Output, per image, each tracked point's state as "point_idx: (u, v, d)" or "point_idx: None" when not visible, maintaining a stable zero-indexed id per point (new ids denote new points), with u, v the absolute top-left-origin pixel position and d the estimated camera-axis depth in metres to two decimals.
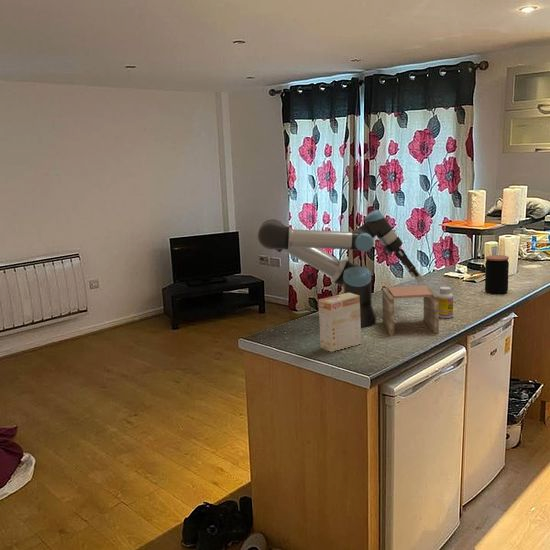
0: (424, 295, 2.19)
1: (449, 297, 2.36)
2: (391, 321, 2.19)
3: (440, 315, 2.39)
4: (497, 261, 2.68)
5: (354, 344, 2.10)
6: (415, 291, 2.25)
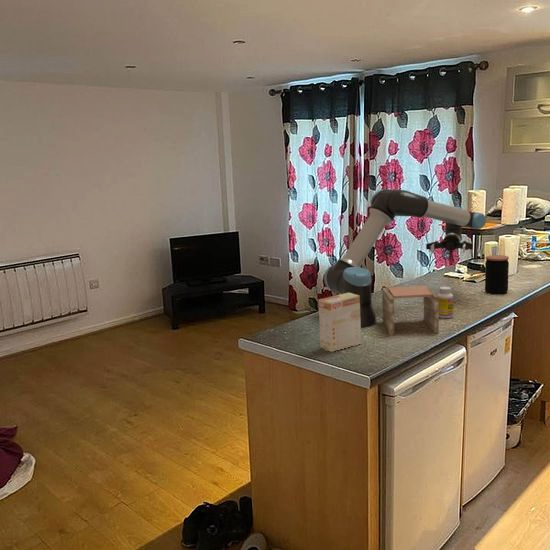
0: (424, 295, 2.19)
1: (449, 297, 2.36)
2: (391, 321, 2.19)
3: (440, 315, 2.39)
4: (497, 261, 2.68)
5: (354, 344, 2.10)
6: (415, 291, 2.25)
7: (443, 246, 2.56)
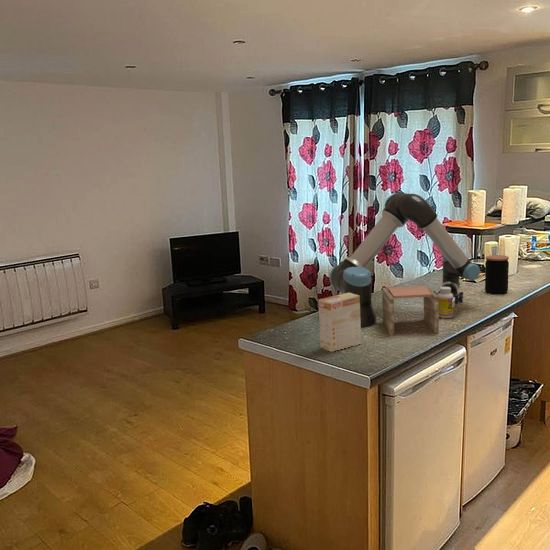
0: (424, 295, 2.19)
1: (449, 297, 2.36)
2: (391, 321, 2.19)
3: (440, 315, 2.39)
4: (497, 261, 2.68)
5: (354, 344, 2.10)
6: (415, 291, 2.25)
7: None
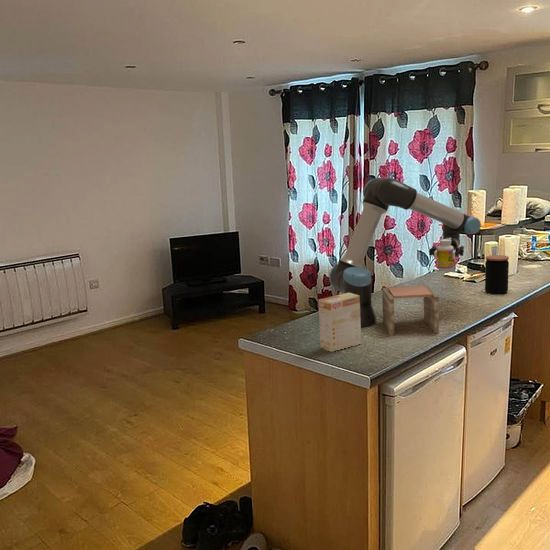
0: (424, 295, 2.19)
1: (449, 249, 2.32)
2: (391, 321, 2.19)
3: (440, 268, 2.35)
4: (497, 261, 2.68)
5: (354, 344, 2.10)
6: (415, 291, 2.25)
7: None
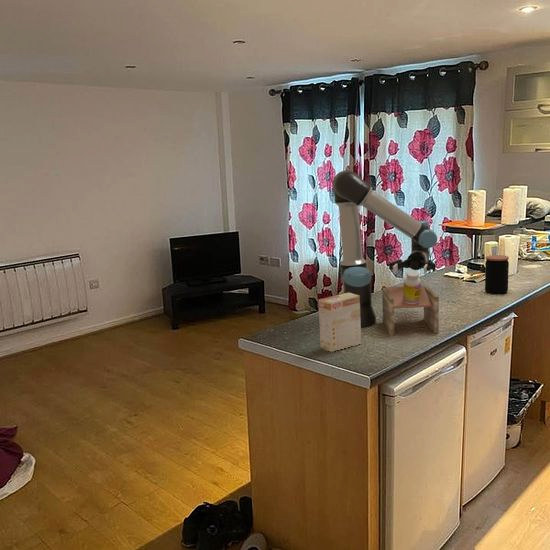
0: (424, 305, 2.21)
1: (416, 284, 2.17)
2: (391, 321, 2.19)
3: (406, 301, 2.21)
4: (497, 261, 2.68)
5: (354, 344, 2.10)
6: None
7: (407, 265, 2.30)
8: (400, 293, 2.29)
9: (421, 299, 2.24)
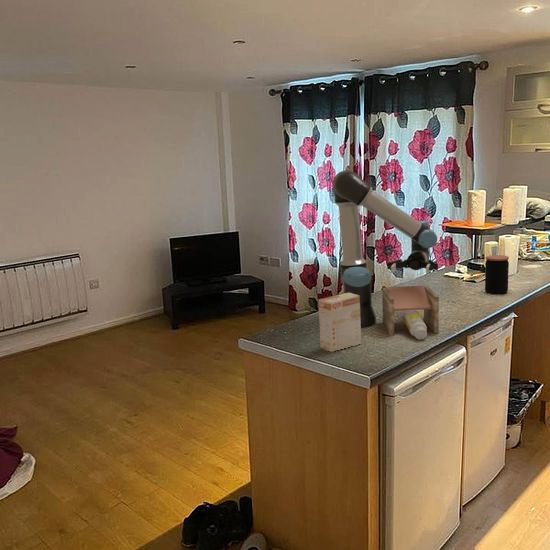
0: (423, 308, 2.21)
1: None
2: (391, 321, 2.19)
3: None
4: (497, 261, 2.68)
5: (354, 344, 2.10)
6: (415, 299, 2.26)
7: (406, 265, 2.30)
8: (400, 294, 2.29)
9: (421, 301, 2.25)
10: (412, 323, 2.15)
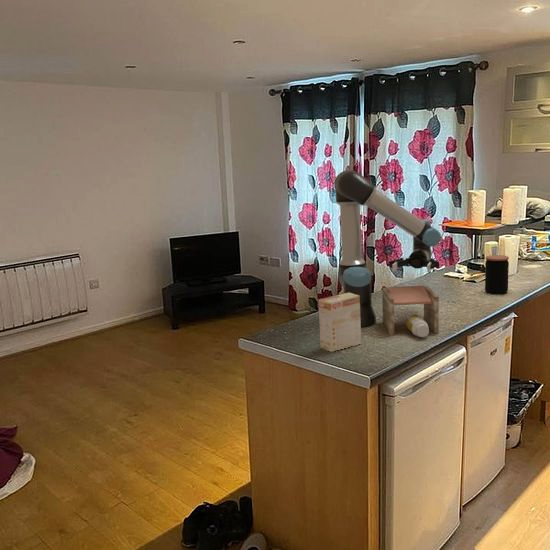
0: (424, 302, 2.20)
1: None
2: (391, 321, 2.19)
3: (407, 326, 2.24)
4: (497, 261, 2.68)
5: (354, 344, 2.10)
6: (415, 295, 2.25)
7: (408, 264, 2.32)
8: (400, 292, 2.29)
9: (421, 297, 2.24)
10: (416, 321, 2.16)
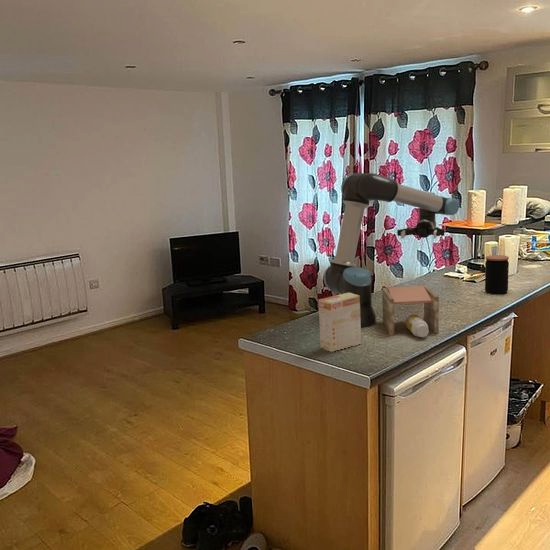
0: (424, 301, 2.20)
1: None
2: (391, 321, 2.19)
3: None
4: (497, 261, 2.68)
5: (354, 344, 2.10)
6: (415, 295, 2.25)
7: (415, 233, 2.48)
8: (400, 291, 2.29)
9: (421, 296, 2.24)
10: (415, 321, 2.16)
